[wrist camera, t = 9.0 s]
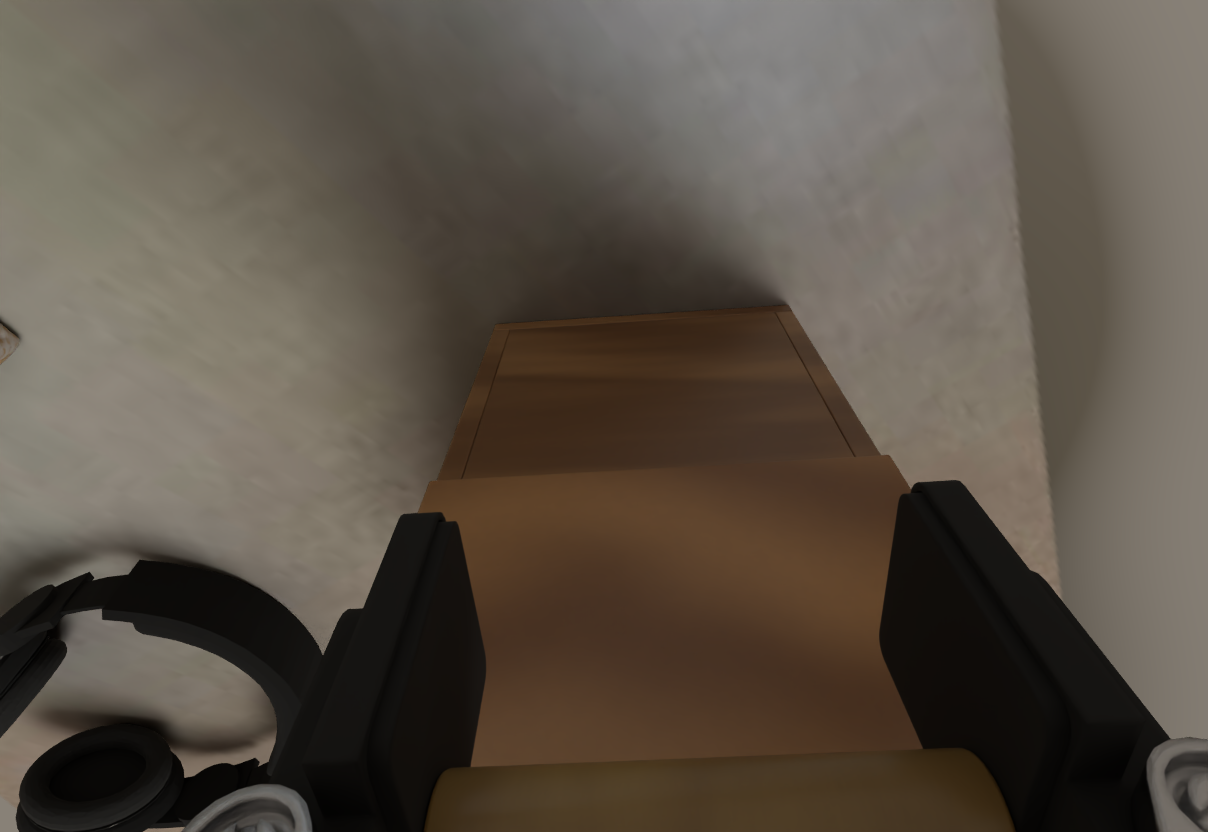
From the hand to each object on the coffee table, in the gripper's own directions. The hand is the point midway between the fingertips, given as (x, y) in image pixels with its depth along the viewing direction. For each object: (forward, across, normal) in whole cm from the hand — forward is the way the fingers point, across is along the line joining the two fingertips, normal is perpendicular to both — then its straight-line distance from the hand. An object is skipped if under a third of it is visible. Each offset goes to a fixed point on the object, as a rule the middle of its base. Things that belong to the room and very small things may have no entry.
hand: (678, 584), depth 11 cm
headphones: (+24, +30, +26) cm, 46 cm away
